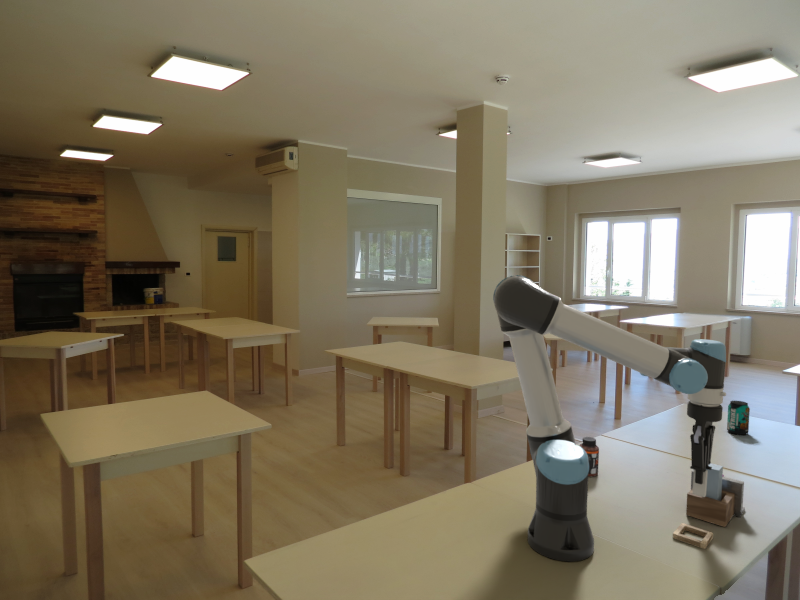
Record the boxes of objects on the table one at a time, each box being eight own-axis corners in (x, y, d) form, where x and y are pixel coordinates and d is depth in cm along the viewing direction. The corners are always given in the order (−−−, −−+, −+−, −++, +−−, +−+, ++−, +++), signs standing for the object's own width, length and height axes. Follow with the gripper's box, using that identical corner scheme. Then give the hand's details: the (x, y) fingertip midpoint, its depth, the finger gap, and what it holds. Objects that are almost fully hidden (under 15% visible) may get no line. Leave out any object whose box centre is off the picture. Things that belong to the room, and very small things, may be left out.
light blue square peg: (716, 515, 135) (718, 470, 134) (699, 510, 138) (701, 466, 137) (720, 510, 138) (722, 466, 137) (703, 505, 141) (705, 461, 140)
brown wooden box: (725, 527, 132) (726, 505, 131) (686, 515, 138) (687, 493, 137) (733, 514, 138) (734, 493, 138) (696, 503, 144) (696, 483, 144)
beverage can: (752, 435, 200) (754, 405, 199) (734, 435, 200) (735, 405, 199) (740, 429, 207) (742, 400, 206) (722, 429, 207) (724, 400, 206)
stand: (705, 549, 122) (705, 544, 122) (672, 538, 127) (673, 533, 127) (713, 537, 127) (713, 533, 127) (681, 527, 132) (681, 522, 132)
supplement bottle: (599, 478, 161) (600, 442, 160) (579, 476, 163) (580, 441, 162) (596, 470, 167) (597, 436, 166) (577, 468, 168) (578, 434, 167)
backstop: (740, 517, 137) (742, 484, 136) (690, 502, 145) (691, 471, 145) (744, 510, 141) (746, 478, 140) (695, 496, 149) (696, 465, 148)
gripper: (715, 411, 121) (709, 508, 123) (728, 400, 131) (722, 491, 133) (680, 404, 127) (674, 498, 129) (695, 394, 136) (690, 482, 138)
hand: (699, 494), depth 131 cm, fingers closed
